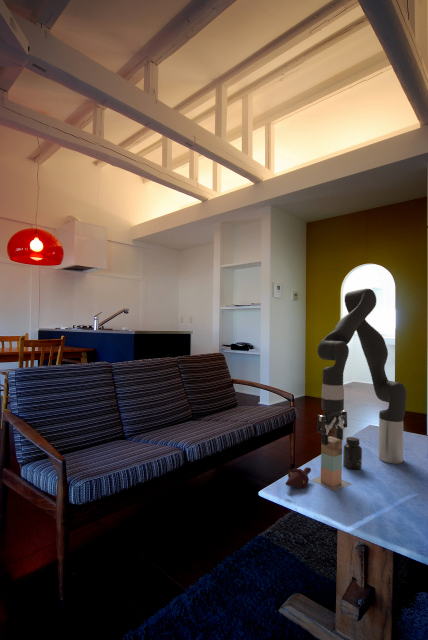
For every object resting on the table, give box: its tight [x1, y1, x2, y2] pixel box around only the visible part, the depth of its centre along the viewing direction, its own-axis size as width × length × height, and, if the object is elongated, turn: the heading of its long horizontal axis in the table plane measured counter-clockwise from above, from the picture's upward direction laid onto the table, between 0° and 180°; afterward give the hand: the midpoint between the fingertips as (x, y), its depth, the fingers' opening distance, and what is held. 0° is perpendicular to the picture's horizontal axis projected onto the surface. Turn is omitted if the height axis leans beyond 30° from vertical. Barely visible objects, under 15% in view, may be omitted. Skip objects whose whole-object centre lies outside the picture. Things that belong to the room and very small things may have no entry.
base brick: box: [320, 466, 343, 486], centre depth 125 cm, size 5×5×5 cm
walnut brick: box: [320, 435, 343, 457], centre depth 125 cm, size 5×5×5 cm
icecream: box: [285, 466, 312, 489], centre depth 122 cm, size 7×7×15 cm
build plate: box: [310, 475, 352, 492], centre depth 125 cm, size 10×10×1 cm
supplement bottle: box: [342, 436, 363, 471], centre depth 139 cm, size 7×7×12 cm
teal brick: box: [320, 452, 343, 472], centre depth 125 cm, size 5×5×5 cm
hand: (332, 442), depth 126 cm, fingers open, 8 cm apart
